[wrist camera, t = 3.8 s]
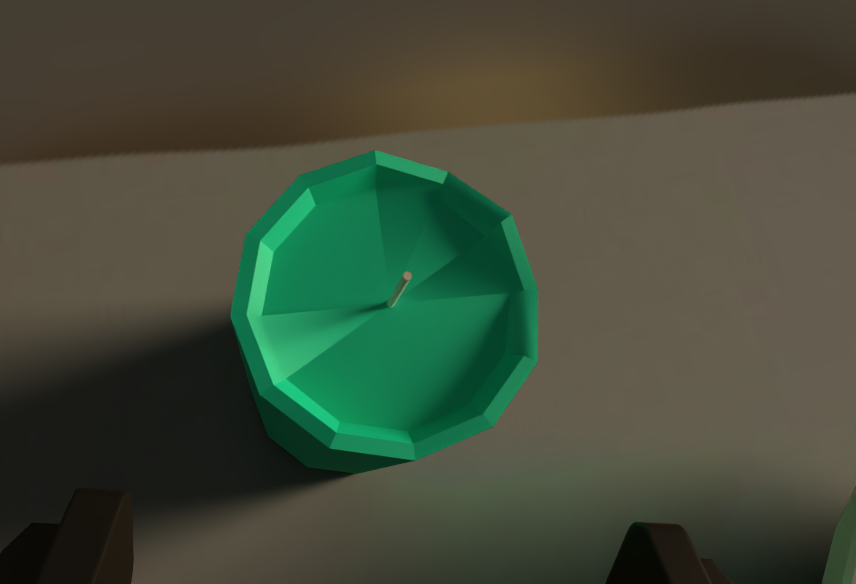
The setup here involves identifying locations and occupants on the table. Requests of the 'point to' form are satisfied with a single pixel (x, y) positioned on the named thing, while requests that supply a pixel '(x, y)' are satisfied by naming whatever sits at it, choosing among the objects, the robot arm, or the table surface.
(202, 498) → the table surface
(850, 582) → the bowl
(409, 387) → the candle
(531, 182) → the table surface
